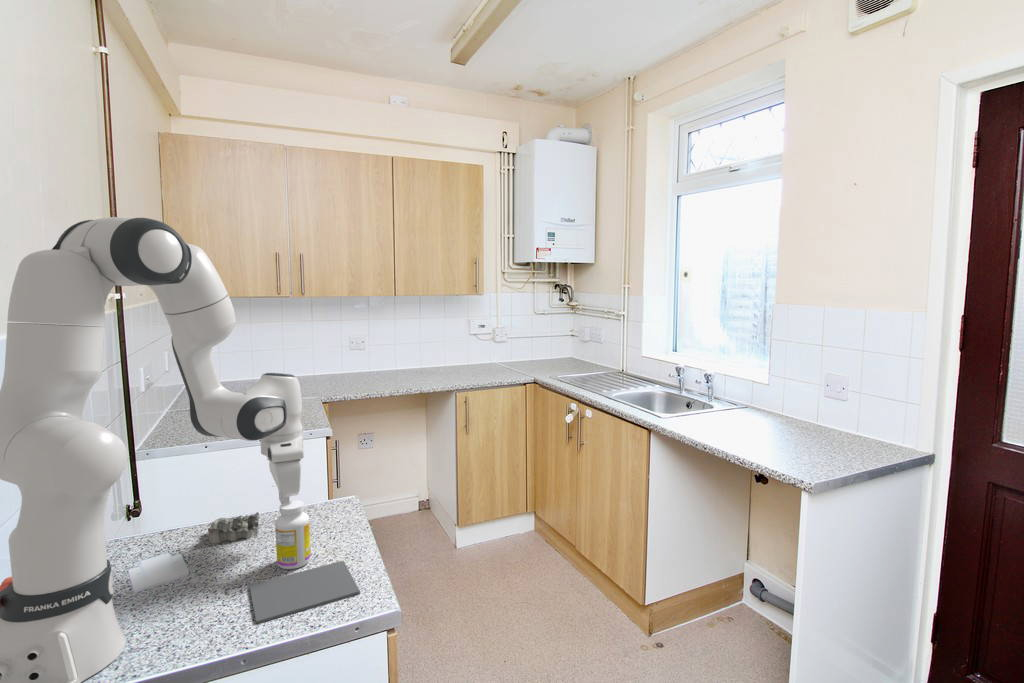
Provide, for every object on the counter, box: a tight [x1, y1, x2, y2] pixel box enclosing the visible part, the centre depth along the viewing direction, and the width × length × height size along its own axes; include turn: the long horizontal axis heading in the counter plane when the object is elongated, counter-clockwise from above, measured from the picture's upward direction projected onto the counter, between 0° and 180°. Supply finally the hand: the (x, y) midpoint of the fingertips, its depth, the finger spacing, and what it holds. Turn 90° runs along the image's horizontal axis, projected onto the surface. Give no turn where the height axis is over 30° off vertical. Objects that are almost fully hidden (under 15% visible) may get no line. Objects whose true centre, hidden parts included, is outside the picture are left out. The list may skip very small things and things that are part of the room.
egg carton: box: [207, 512, 260, 545], centre depth 124 cm, size 11×8×4 cm
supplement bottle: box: [274, 500, 312, 570], centre depth 111 cm, size 7×7×13 cm
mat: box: [249, 560, 361, 625], centre depth 101 cm, size 18×13×1 cm
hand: (284, 502), depth 120 cm, fingers closed
